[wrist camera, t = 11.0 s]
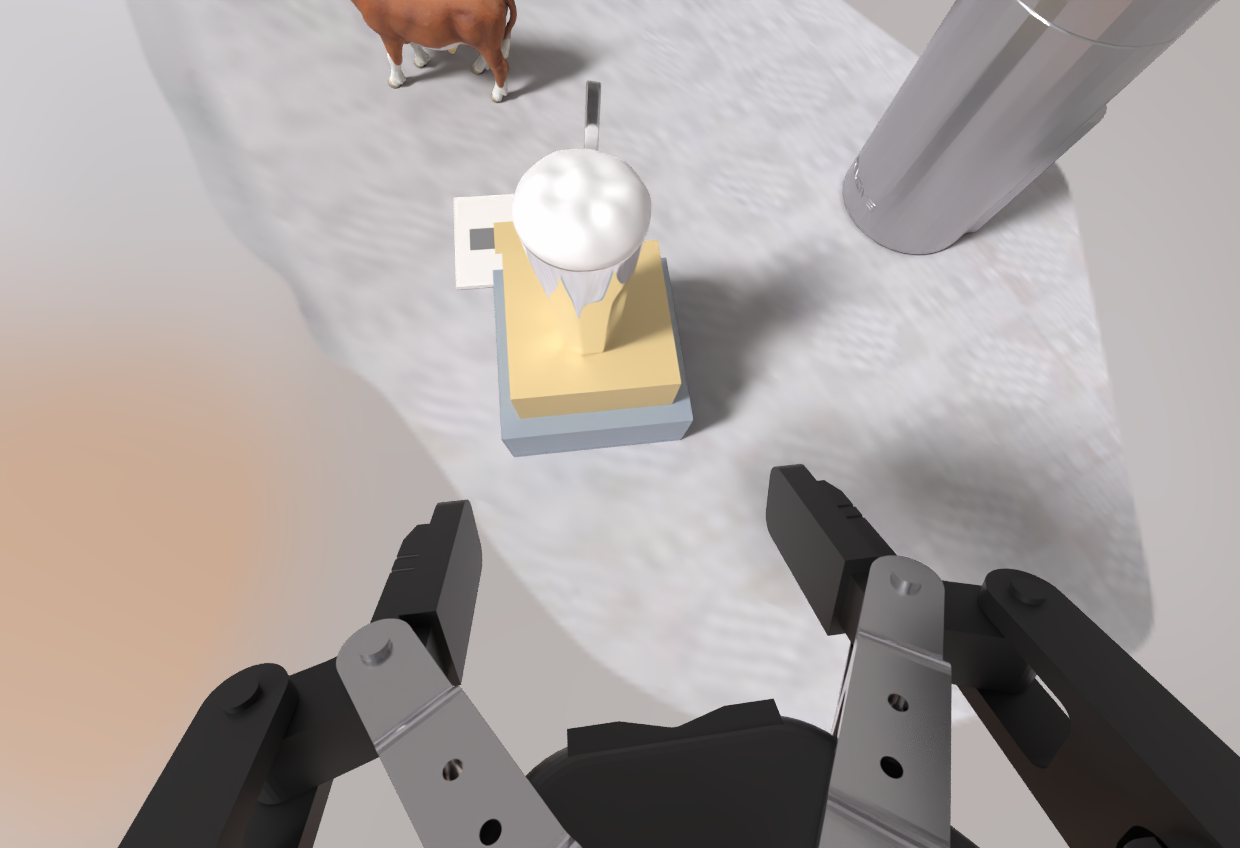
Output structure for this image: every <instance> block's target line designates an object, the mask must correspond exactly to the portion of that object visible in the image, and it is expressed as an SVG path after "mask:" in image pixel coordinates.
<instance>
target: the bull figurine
mask: <svg viewBox="0 0 1240 848" xmlns="http://www.w3.org/2000/svg"><path fill="white" fill-rule="evenodd" d="M351 2H352V3H353V4H354V5H355V6H356V8H357V9H358V10H359V11H360V13H361V14H362V16H363V18H364V20H365V22H366V23H367V25H368V26H369V27H370V28H372V29H373V30H374V31H375V32H376V33H378V34H379V35H380V36H381V38H382V41H383V43H384V45H385V47H386V50H387V57H388V60H389V62H390V64H391V76H390V78H389V80H388V84H389V86H390V87H392V88H399V86H400V84H403V82H404V81H406V78H405V76H404V74H403V72H402V70H401V64H402V47H403V44H410V45H411V46H412V47H413V49H414V52H415V59H414V65H415V66H416V67H419V68H421V67H423V66H424V64H427V61H430V57H429V56H428V55H427V54H426V52H425V51H424V50H423V49H422V47H421V46H423V47H426V48H428V49H433V50H448V51H449V52H450V53H452V54H454V53H455V52H456V49H457V47H458V45H459V44H465V45H469V46H471V47H473V48H475V49H476V50H477V51H479V53H480V55H479V57H478V59H477V60H476V61H475V62H474V64H473V65H472V66H471V69H472V71H473V72H474V73H477V74H480V73H482V72H483V70H484V68H486V69H487V70H489V69H490V68H491V70H492V72H493V74H494V77H495V86H494V89H493V91H492V95H491V100H492V101H494V102H501V100H502V97H503V95H504V96H507V91H508V90H507V83H506V80H507V73H508V70H509V65H508V63H507V61H506V58H507V57H508V55H509V50H510V35H511V29H512V27H513V26H514V24H515V22H516V16H517V11H516V5H515V2H514V0H351ZM508 7H509V9H510V20H509V22H508V23H507V25H506V16H507V11H508Z"/></svg>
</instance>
